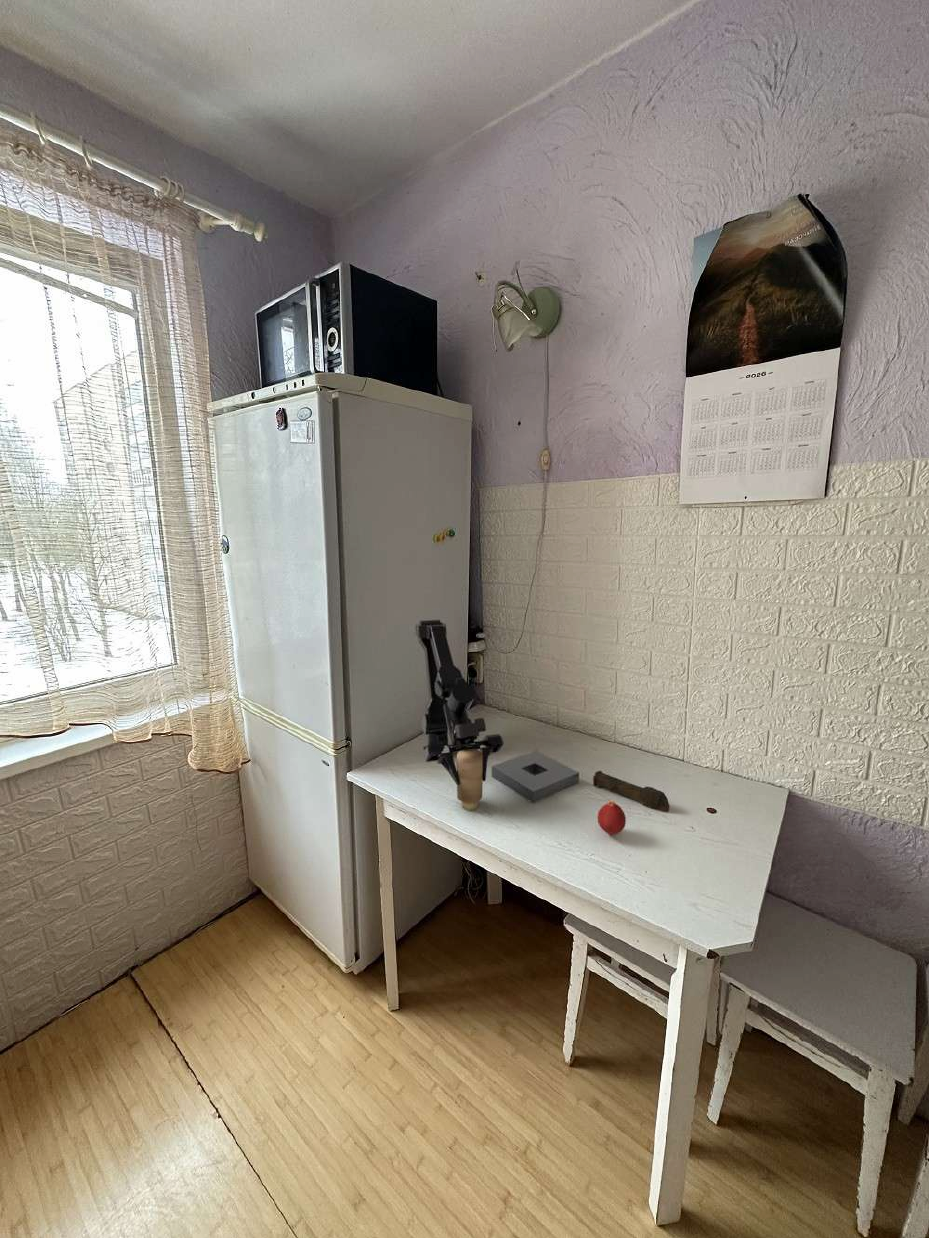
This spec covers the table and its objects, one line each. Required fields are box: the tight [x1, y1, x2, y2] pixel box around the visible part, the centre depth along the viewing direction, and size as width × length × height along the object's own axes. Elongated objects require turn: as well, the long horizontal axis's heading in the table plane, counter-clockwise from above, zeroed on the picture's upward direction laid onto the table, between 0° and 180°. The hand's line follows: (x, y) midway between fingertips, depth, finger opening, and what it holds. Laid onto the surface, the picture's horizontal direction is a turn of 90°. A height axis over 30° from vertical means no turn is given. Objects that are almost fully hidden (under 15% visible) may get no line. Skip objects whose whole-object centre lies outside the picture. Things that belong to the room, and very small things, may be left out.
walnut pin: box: [456, 749, 483, 811], centre depth 119 cm, size 6×6×13 cm
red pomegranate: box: [597, 800, 627, 836], centre depth 108 cm, size 6×6×8 cm
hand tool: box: [592, 770, 670, 813], centre depth 122 cm, size 19×4×5 cm, turn 43°
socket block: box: [491, 750, 580, 804], centre depth 131 cm, size 16×16×3 cm
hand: (471, 782), depth 117 cm, fingers closed on walnut pin, 6 cm apart
